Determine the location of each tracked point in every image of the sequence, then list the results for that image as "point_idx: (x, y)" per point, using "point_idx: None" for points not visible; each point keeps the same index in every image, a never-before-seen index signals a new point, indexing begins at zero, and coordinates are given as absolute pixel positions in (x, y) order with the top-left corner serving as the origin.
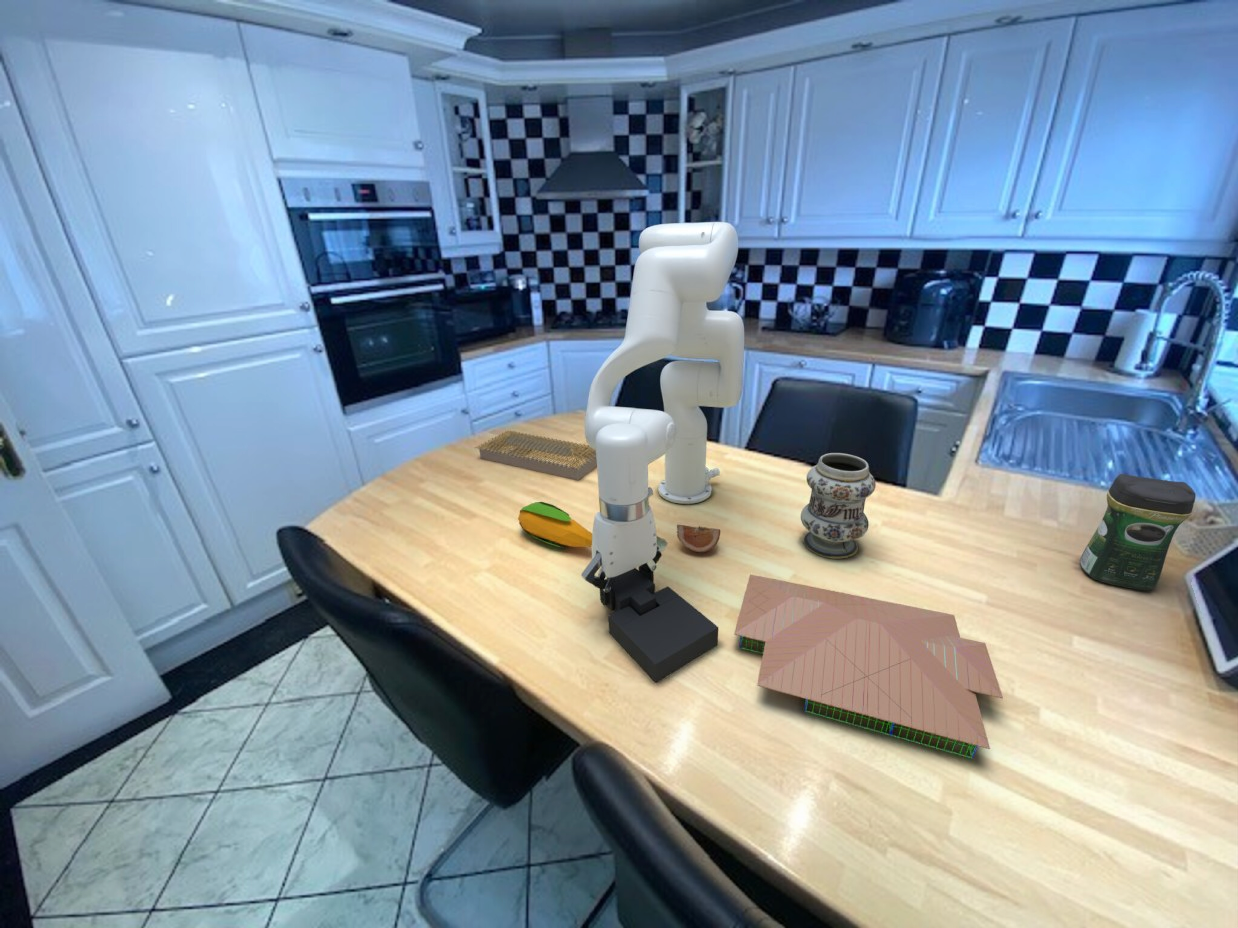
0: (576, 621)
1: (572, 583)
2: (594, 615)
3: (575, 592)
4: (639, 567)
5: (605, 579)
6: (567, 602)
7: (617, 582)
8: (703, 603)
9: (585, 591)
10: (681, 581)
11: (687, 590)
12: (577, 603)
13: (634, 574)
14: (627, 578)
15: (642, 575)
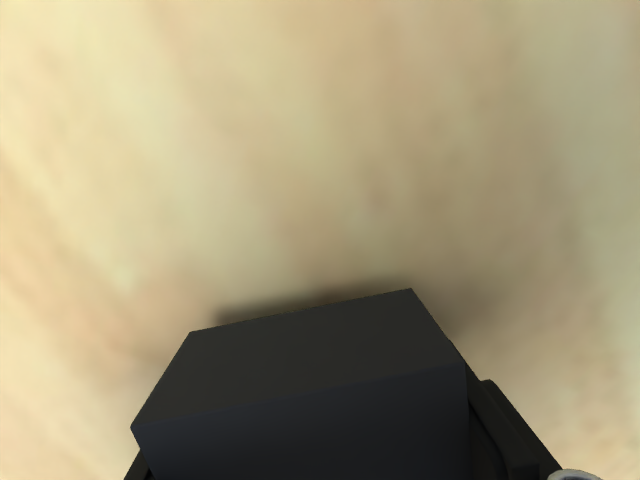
0: (72, 351)
1: (83, 61)
2: (159, 348)
3: (92, 156)
4: (489, 464)
5: (181, 420)
6: (38, 216)
7: (260, 473)
8: (588, 442)
9: (150, 172)
10: (619, 304)
11: (595, 363)
12: (92, 245)
13: (415, 445)
14: (346, 464)
15: (460, 471)
